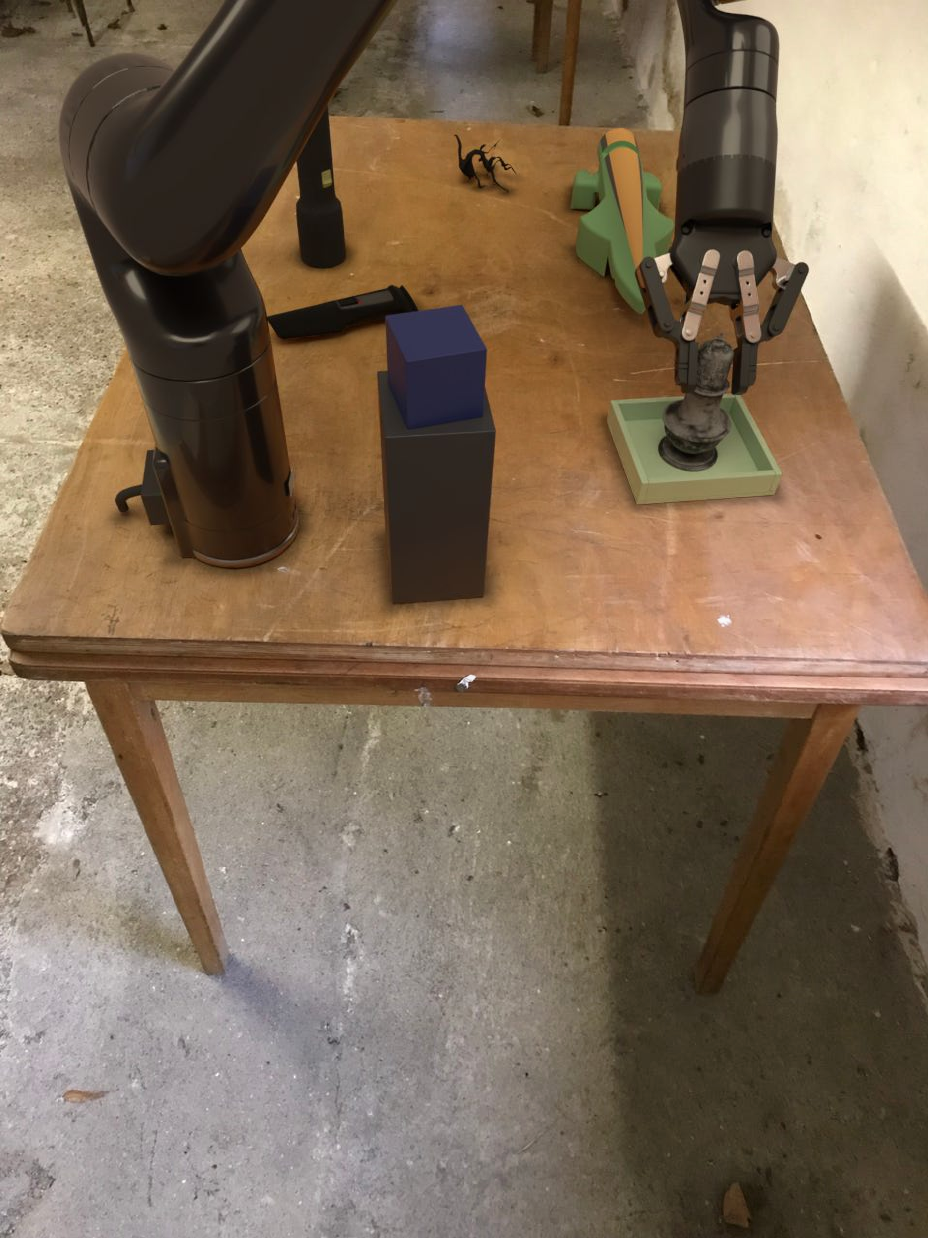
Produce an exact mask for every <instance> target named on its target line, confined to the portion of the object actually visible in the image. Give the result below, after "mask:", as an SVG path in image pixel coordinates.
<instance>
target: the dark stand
mask: <svg viewBox="0 0 928 1238" xmlns="http://www.w3.org/2000/svg"><path fill="white" fill-rule="evenodd" d="M376 376H377V377H376V378H377V397H378V415H379V418H378V419H379V437H380V438H379V439H380V456H381V457H380V458H381V476H382V494H383V495H382V497H383V515H384V516H383V517H384V535H385V548H386V556H387V564H388V574H389V582H390V583H389V584H390V592H391V601H392V605H400V604H412V603H426V602H437V601H438V602H439V601H449V600H462V599H476V598H483V597H484V596H485V585H486V571H487V557H488V544H489V530H490V516H491V505H492V489H493V479H494V466H495V465H494V463H495V449H496V439H497V437H496V436H497V430H496V425H495V422H494V417H493V413H492V408H491V405H490V401H489V396H488V392H487V388H486V387H485V394H484V410H483V417H478V418H472V419H466V420H461V421H455V422H449V423H443V424H438V425H432V426H426V427H420V428H415V429H409V430H408V429H407V426H406V424H405V422H404V419H403V417H402V415H401V412H400V410H399V408H398V405H397V403H396V401H395V398H394V396H393V394H392V391H391V389H390V387H389V384H388V372H387V370H377V372H376Z"/></svg>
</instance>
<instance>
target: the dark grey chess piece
mask: <svg viewBox="0 0 928 1238" xmlns="http://www.w3.org/2000/svg"><path fill="white" fill-rule="evenodd" d="M725 339H726V336H725V335H724V333H723V332H720V333H719V334H718V335H716V336H715V338H712V339H708V340H706V341H703V343H701V344H700V345H699V346H698V365H697V384H696V389H695V391H694V392H692V393H684V396H685V397H684V399H681V400H677V401H675V402H673V403H670V404H669V405H668V406H667V407H666V408H665V410H664V412H663V422H664V428H665V433H666V436H664V437H663V438H662V439H661V440H660V443H659V445H658V452H659V454H660V456H661V458H662V459H663V460H664V461H665V462H666V463H668V464H669V465H670V466H672V467H674V468H677V469H680V470H683V471H691V472H695V471H703V470H706V469H708V468H710V467H712V466H713V465H714V464H715V463H716V461H717V458H718V452H717V449H716V446H717V445H718V444H719V443H720V442H721V441H722V440H723V438H724V437H725V436H726V435H727V434H728V433H729V431H730V429H731V420H730V418H729V416H728V414H727V413H726V412H725V411H724V410H723V409H722V408H720V404H721V400H722V397H723V394H727V392H729V390H730V387H731V383H730V381H729V379H728V377H729V374H730V370H731V368H732V366H733V358H734V350H733V349H734V348H733V346H732V345H731V343H729V342H727V341H725Z"/></svg>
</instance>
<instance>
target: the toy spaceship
mask: <svg viewBox="0 0 928 1238" xmlns="http://www.w3.org/2000/svg"><path fill="white" fill-rule="evenodd" d="M596 153H597V158H598V168H597V171H596V172H595V173H591V172H590V171H589V170H587V169H585V168H581V169H579V170H577V172H576V173H575V175H574V178H573V184H572V191H571V200H570V209H571V210H585V211H586V210H587V211H589V212H588V213H585V214H583V215H581V216H580V217H579V219H578V227H577V233H576V234H577V235H576V242H575V249H574V250H575V253H576V256H577V257H578V258H580V260H581V261H582V262H584V263H585V264H586V265H587V266H589V267H590V268H591V269H593V270H594V271H595V272H597V273H598V274H599V275H601V276H602V277H605V274H606V269H607V263H608V266H609V272H610V276H611V278H612V279H611V280H614V286H615V288H616V290H617V291H618V293H619V295H620V296H621V297H622V298H623V300H624V301H625V302H626V303H627V304H628V306H629V307H630V308H631V309H633V310H634V311H635V313H637V314H640V315H641V314H644V312H645V311H646V308H645V305H644V302H643V299H642V296H641V293H640V290H639V287H638V283H637V280H636V277H635V270H636V268H637V267H638V265H639V264H640V263H641V261H642V260H643V259H644V258H645V257H652V258H657V257H659V256H662V255H665V254H667V253H668V251H669V249H670V247H671V242H672V241H671V240H672V237H673V234H674V233H673V232H674V229H675V220H673V219H672V218H669V217H667V216H665V215H664V214H662V213H661V212H660V211H659V208H660V202H661V198H662V193H663V184H662V183H661V181H660V179H659V178H658V177H657V176H655V175H653V174H652V173H650V172H648V171H644V168H643V163H642V158H641V155H640V151H639V146H638V141H637V138H636V135H634V134H633V132H631V131H630V130H628V129H627V128H623V127H617V128H612V129H610V130H608V131H607V132H605V133H604V134H603V135H602V136H601V138H600V140H599V142H598V143H597V152H596ZM597 193H598V199H599V203H598V204H597V206H595V205H596V199H597Z"/></svg>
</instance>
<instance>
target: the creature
mask: <svg viewBox="0 0 928 1238" xmlns="http://www.w3.org/2000/svg"><path fill="white" fill-rule="evenodd" d="M453 136H454V137H455V138H456V141H457V144H458V147H457V155H458V168H459V170H460V172H461V174H463V175H464V176H465V177H467V179H468V180H469V181H471V179H472V178H473V177H475V179H476V181H477V187H478V189H482V188H484V187H487V185H485V184H484V185H481V180H480V179H479V177H478V176H477V174H479V172H476V171H475V168H474V164H473V157H474V156H475V155H477V156H480V158H478V159H477V160H478V161H477V162H478V163H480V162H482V165H483V168H484V169H485V170H486V172H487V173H485V174H484V176H487V177H488V176H489V173H490V175H491V179H492V182H493V183H492V185H491V187H493V186H496V187H499V188H500V189H502V190H504V191H506V192H510V190H509V189H507V188H505V187H503V186H502V185H500V184H499V183H498V181H497V180H496V177H495V172H494V170H495V168H496V165H497V163H498V162H500V165H501V167H502V168H503V170H504V171H509V170H510V169H511V170H512V172H513V173H514V174H515V175H517V172H516V171H515V169H514V167H513V166H512V165H511V164H510V163H505V161H504V160H503V159H502V157H501V156H499V155H498V156H493V154H494V153H492V155H491V156H490V158H489V159H487V157H486V155H488V154H489V153H490V152H491V150H495V149H496V147H497V145H498V143H499V142H500V140H498V141H497V142H496V143H494V145H492V147H490V149H489V150H488V151H484V150H483V149H484V148H485V147H486V146H487V144H486V143H484V144H481V145H480V147H479V149H478V148H475V149H473V150H471V151H470V152H468V153H466V155H465V158H463V157H462V150H463V149H462V148H463V145H462V141H461V139H460V137H459V136H458V134H454V135H453ZM496 159H497V160H496ZM495 160H496V161H495ZM494 161H495V162H494ZM493 163H494V164H493Z"/></svg>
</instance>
